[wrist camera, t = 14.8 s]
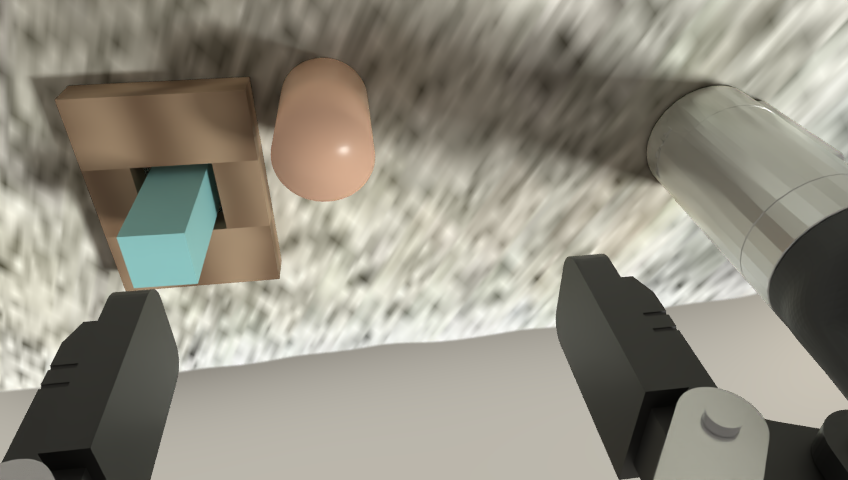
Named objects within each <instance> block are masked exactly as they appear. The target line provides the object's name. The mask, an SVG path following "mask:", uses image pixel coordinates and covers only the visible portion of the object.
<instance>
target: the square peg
mask: <svg viewBox="0 0 848 480" xmlns="http://www.w3.org/2000/svg"><path fill="white" fill-rule="evenodd" d="M219 206H220V200H219V195H218V191H217V186H216V181H215V177H214V172H213V167H212V163H207V164H191V165H175V166H159V167H151V169H150V171H149V173H148V175H147V177H146V179H145V181H144V183H143V185H142V187H141V189H140V191H139V193H138V195H137V197H136V199H135V201H134V203H133V205H132V207H131V209H130V211H129V213H128V215H127V217H126V219H125V221H124V223H123V225H122V227H121V229H120V231H119V233H118V235H117V240H118V243H119V246H120V249H121V252H122V255H123V258H124V261H125V264H126V267H127V270H128V273H129V276H130V279H131V281H132V284H133V287H134V288H144V287H158V286H173V285H187V284H198V282H199V278H200V274H201V271H202V267H203V264H204V260H205V256H206V253H207V249H208V246H209V242H210V238H211V235H212V231H213V228H214V224H215V220H216V217H217V213H218V209H219Z"/></svg>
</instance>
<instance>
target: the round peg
mask: <svg viewBox="0 0 848 480" xmlns="http://www.w3.org/2000/svg"><path fill="white" fill-rule="evenodd" d="M271 161H272V166H273V169H274V171H275V173H276V175H277V177H278V178H279V180H280V181H281V182H282V183H283V184H284V185H285V186H286V187H287V188H288V189H289V190H290V191H292V192H293V193H295V194H297V195H299V196H301V197H303V198H306V199H309V200H314V201H322V202H324V201H335V200H340V199H343V198H346V197H348V196H350V195H352V194H354V193H355V192H356V191H358V190H359V189H360V188H361V187H362V186H363V185H364V184H365V183H366V182H367V180H368V179H369V177H370V175H371V173H372V171H373V168H374V163H375V151H374V143H373V135H372V127H371V120H370V112H369V104H368V97H367V91H366V87H365V85H364V83H363V81H362V79H361V77H360V76H359V75H358V74H357V72H356V71H355V70H354V69H352V68H351V67H350V66H348V65H347V64H345V63H343V62H341V61H338V60H335V59H331V58H314V59H310V60H307V61H304V62H302V63H300V64H299V65H297V66H296V67H295V68H293V69H292V70H291V71H290V73H289V74H288V75H287V77H286V79H285V80H284V83H283V86H282V90H281V95H280V101H279V107H278V112H277V118H276V124H275V129H274V135H273V141H272V147H271Z"/></svg>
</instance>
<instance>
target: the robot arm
mask: <svg viewBox="0 0 848 480" xmlns="http://www.w3.org/2000/svg"><path fill="white" fill-rule="evenodd" d="M647 162H648V165H649V168H650V170H651V172H652V174H653V175H654V176H655V177H656V179H657V180H658V181H659V182H660V183H661V184H662V186H663V187H664V188H665V189H666V190H667V191H668V192H669V194H670V195H671V196H672V197H673V198H674V199H675V201H676V202H677V203H678V204H679V205H680V206H681V207H682V209H683V210H684V211H685V212H686V213H687V214H688V215H689V217H690V218H691V219H692V220H693V221H694V222H695V223H696V224H697V226H698V227H699V228H700V229H701V230H702V231H703V232H704V234H705V235H706V236H707V237H708V238H709V239H710V240H711V241H712V243H713V244H714V245H715V246H716V247H717V248H718V249H719V250H720V252H721V253H722V254H723V255H724V256H725V257H726V258H727V260H728V261H729V262H730V263H731V264H732V265H733V266H734V267H735V269H736V270H737V271H738V272H739V273H740V274H741V275H742V277H743V278H744V279H745V280H746V281H747V282H748V283H749V284H750V285H751V286H752V288H753V289H754V290H755V291H756V292H757V293H758V294H759V295H760V297H761V298H762V299H763V300H764V301H765V302H766V303H767V304H768V306H769V307H770V308H771V309H772V310H773V311H774V312H775V313H776V315H777V316H778V317H779V318H780V319H781V320H782V321H783V322H784V324H785V325H786V326H787V327H788V328H789V329H790V331H791V332H792V333H793V334H794V336H795V337H796V339H797V340H798V341H799V342H800V343H801V344H802V346H803V347H804V348H805V349H806V350H807V352H808V353H809V354H810V355H811V356H812V357H813V358H814V360H815V361H816V362H817V363H818V364H819V366H820V367H821V368H822V369H823V370H824V371H825V372H826V374H827V375H828V376H829V378H830V379H831V380H832V381H833V383H834V384H835V385H836V386H837V387H838V389H839V390H840V391H841V393H842V394H843V395H844V396H845V398H846V399H847V400H848V164H847V163H846V162H844V156H843V154H842V153H841V152H840V151H838V150H837V149H835V148H834V147H832V146H831V145H829V144H828V143H826V142H825V141H823V140H822V139H820V138H819V137H817V136H816V135H814V134H813V133H811V132H810V131H808V130H807V129H805V128H804V127H802V126H801V125H799V124H798V123H796V122H795V121H793V120H792V119H790V118H789V117H787V116H786V115H784V114H783V113H781V112H780V111H778V110H777V109H775V108H774V107H772V106H771V105H769V104H768V103H766V102H765V101H756V100H754V99H753V98H751V97H750V96H748V95H747V94H746V93H744V92H742V91H740V90H738V89H736V88H734V87H729V86H710V87H706V88H702V89H698V90H696V91H694V92H692V93H689V94H687V95H686V96H684V97H682V98H681V99H679V100H678V101H676V102H675V103H674V104H673V105H672V106H671V107H670V108H669V109H667V110H666V111H665V113H664V114H663V115H662V116H661V118H660V119H659V120H658V121H657V123H656V125H655V127H654V129H653V130H652V132H651V135H650V138H649V141H648V145H647ZM556 328H557V334H558V339H559V341H560V344H561V347H562V349H563V351H564V354H565V356H566V358H567V361H568V363H569V365H570V367H571V370H572V372H573V375H574V377H575V379H576V382H577V384H578V386H579V389H580V391H581V393H582V395H583V398H584V400H585V402H586V404H587V407H588V409H589V411H590V414H591V416H592V419H593V421H594V423H595V425H596V428H597V430H598V433H599V435H600V437H601V439H602V442H603V444H604V446H605V449H606V451H607V453H608V456H609V458H610V460H611V463H612V465H613V467H614V470H615V472H616V474H617V477H618V479H619V480H621V479H630V478H638V477H640V479H641V480H848V410H840V411H837V412H834V413H832V414H831V415H829V416H828V417H827V418H826V419H825V421H824V423H823V425H822V426H821V428H820V429H818V428H811V427H806V426H800V425H794V424H788V423H782V422H776V421H771V420H766V419H764V418H763V416H762V415H761V413H760V412H759V411H758V410H757V409H756V408H755V407H754V406H753V405H752V404H750V403H749V402H748V401H746V400H745V399H743V398H742V397H740V396H738V395H736V394H734V393H732V392H729V391H726V390H723V389H719V388H718V387H717V386H716V385H715V383H714V382H713V380H712V379H711V377H710V376H709V374H708V373H707V371H706V370H705V368H704V367H703V365H702V364H701V362H700V361H699V360H698V358H697V356H696V355H695V354H694V352H693V350H692V349H691V347H690V346H689V344H688V343H687V341H686V340H685V338H684V337H683V335H682V334H681V333H680V331H679V330H677V329H676V325H675V324H674V322H673V321H672V319H671V318H670V316H669V315H666V310H665V309H664V307H663V306H662V304H661V303H660V301H659V300H658V298H657V297H656V295H655V294H654V292H653V291H651V290H650V289H649V288H647V287H646V286H645V285H643V284H642V283H641V282H639V281H638V280H637V279H635V278H634V277H633V276H631V277H620V275H619V274H618V272H617V270H616V269H615V267H614V266H613V264H612V262H611V261H610V259H609V258H608V256H606V255H605V254H595V255H583V256H571V257H567V258H566V260H565V262H564V267H563V273H562V279H561V285H560V292H559V298H558V304H557V311H556ZM50 366H51V370H48V371H47V373H46V375H45V377H44V379H43V381H42V383H41V389H38V391H37V393H36V395H35V397H34V399H33V401H32V403H31V405H30V407H29V409H28V411H27V413H26V415H25V417H24V419H23V421H22V423H21V425H20V427H19V429H18V431H17V433H16V435H15V437H14V439H13V441H12V443H11V445H10V447H9V449H8V451H7V453H6V455H5V457H4V459H3V461H2V463H0V480H150V479H151V475H152V472H153V468H154V464H155V460H156V457H157V453H158V449H159V446H160V442H161V438H162V434H163V430H164V427H165V423H166V419H167V415H168V412H169V408H170V404H171V401H172V397H173V393H174V390H175V386H176V382H177V378H178V371H179V357H178V350H177V346H176V342H175V339H174V336H173V333H172V330H171V327H170V324H169V321H168V318H167V315H166V312H165V309H164V306H163V303H162V300H161V298H160V295H159V293H158V292H157V291H156V290H155V289H150V290H138V291H125V292H114V293H112V294H111V295H110V296H109V297H108V299H107V302H106V304H105V306H104V308H103V310H102V313H101V315H100V317H99V319H98V321H90V322H83V323H82V324H81V325H80V326H79V327H78V328H77V329H76V330H75V331H74V332H73V333H72V334H71V335H70V336H69V337H67V338H66V339H65V340H64V341H63V342H62V344H61V346H60V348H59V350H58V352H57V354H56V356H55V358H54V359H53V361H52V363H51V365H50Z"/></svg>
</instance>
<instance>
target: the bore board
mask: <svg viewBox="0 0 848 480" xmlns="http://www.w3.org/2000/svg"><path fill="white" fill-rule="evenodd" d="M55 102H56V105H57V108H58V110H59V113H60V116H61V118H62V121H63V124H64V126H65V129H66V132H67V134H68V137H69V140H70V142H71V145H72V148H73V151H74V153H75V156H76V159H77V161H78V164H79V167H80V169H81V172H82V175H83V177H84V180H85V183H86V185H87V188H88V191H89V193H90V196H91V199H92V202H93V204H94V207H95V210H96V212H97V215H98V218H99V220H100V223H101V226H102V228H103V231H104V234H105V236H106V239H107V242H108V244H109V247H110V250H111V253H112V255H113V258H114V261H115V263H116V266H117V269H118V271H119V274H120V277H121V279H122V282H123V285H124V287H125V290H126V291H136V290H148V289H161V288H173V287H185V286H198V285H210V284H222V283H235V282H247V281H259V280H272V279H280V270H281V255H280V249H279V243H278V238H277V232H276V226H275V221H274V215H273V209H272V203H271V198H270V192H269V186H268V181H267V175H266V169H265V163H264V158H263V152H262V146H261V141H260V135H259V129H258V123H257V118H256V112H255V106H254V100H253V95H252V89H251V83H250V78H249V77H236V78H216V79H195V80H175V81H154V82H134V83H113V84H92V85H72V86H67V87H66V89H65V90H64V91H63V92H62V93H61V94H60V95H59V96H58V97H57V98H56V99H55ZM207 163H212V166H213V170H214V175H215V179H216V183H217V188H218V192H219V196H220V201H221V205H222V209H223V212H218V213H217V217H216V220H215V224H214V228H213V231H212V235H211V238H210V242H209V246H208V249H207V253H206V256H205V260H204V264H203V267H202V271H201V274H200V278H199V282H198V284H187V285H173V286H158V287H144V288H134V287H133V284H132V281H131V279H130V276H129V273H128V270H127V267H126V264H125V261H124V258H123V255H122V252H121V249H120V246H119V243H118V240H117V235H118V233H119V231H120V229H121V227H122V225H123V223H124V221H125V219H126V217H127V215H128V213H129V211H130V209H131V207H132V205H133V203H134V201H135V199H136V197H137V195H138V193H139V191H140V189H141V187H142V185H143V183H144V181H145V179H146V175H145V172H144V168H143V167H159V166H175V165H191V164H207Z"/></svg>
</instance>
